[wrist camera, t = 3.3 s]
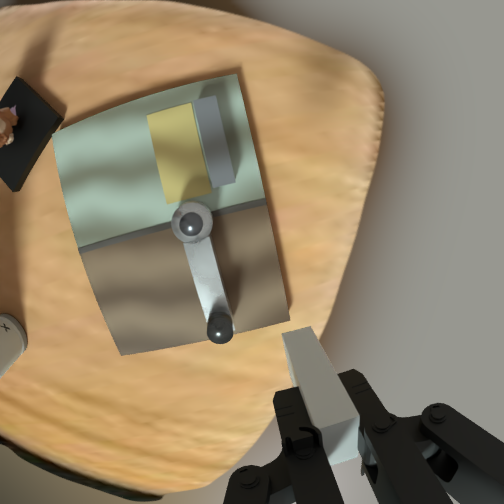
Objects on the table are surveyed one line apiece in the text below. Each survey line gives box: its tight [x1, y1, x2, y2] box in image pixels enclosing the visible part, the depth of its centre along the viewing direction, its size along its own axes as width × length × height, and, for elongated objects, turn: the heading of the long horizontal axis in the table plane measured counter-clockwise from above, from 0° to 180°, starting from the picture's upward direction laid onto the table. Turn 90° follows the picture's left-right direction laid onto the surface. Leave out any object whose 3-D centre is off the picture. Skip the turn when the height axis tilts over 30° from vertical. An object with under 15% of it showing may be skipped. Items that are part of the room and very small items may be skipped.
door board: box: [52, 74, 290, 356], centre depth 27 cm, size 26×20×4 cm
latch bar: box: [171, 200, 235, 344], centre depth 27 cm, size 13×4×4 cm, turn 13°
